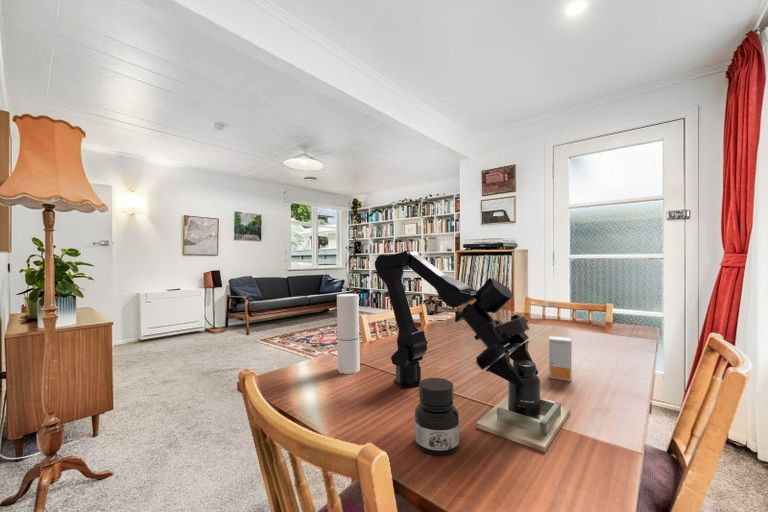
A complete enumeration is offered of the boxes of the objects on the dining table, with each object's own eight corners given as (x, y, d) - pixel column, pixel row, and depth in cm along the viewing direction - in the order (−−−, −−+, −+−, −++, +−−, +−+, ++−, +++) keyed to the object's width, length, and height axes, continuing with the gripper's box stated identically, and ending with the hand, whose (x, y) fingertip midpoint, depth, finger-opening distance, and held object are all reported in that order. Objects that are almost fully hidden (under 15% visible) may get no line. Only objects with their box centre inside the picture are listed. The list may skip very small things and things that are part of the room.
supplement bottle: (525, 425, 70) (524, 369, 70) (501, 411, 76) (501, 360, 76) (547, 418, 73) (547, 364, 73) (523, 405, 79) (522, 356, 79)
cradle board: (476, 427, 71) (475, 411, 71) (510, 396, 86) (510, 383, 86) (544, 452, 62) (544, 434, 62) (570, 413, 77) (569, 398, 77)
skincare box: (549, 378, 98) (548, 338, 98) (549, 373, 102) (548, 335, 102) (572, 381, 96) (571, 341, 95) (571, 376, 99) (571, 337, 99)
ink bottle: (411, 454, 62) (410, 391, 62) (414, 430, 71) (413, 374, 71) (463, 459, 61) (462, 394, 61) (460, 433, 69) (459, 376, 69)
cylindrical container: (361, 366, 112) (360, 293, 112) (357, 374, 105) (356, 296, 104) (340, 366, 112) (339, 293, 112) (335, 373, 105) (334, 296, 105)
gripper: (488, 309, 70) (545, 372, 62) (519, 299, 84) (568, 350, 76) (456, 340, 75) (504, 401, 68) (490, 325, 89) (533, 375, 82)
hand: (530, 380), depth 73 cm, fingers open, 9 cm apart
